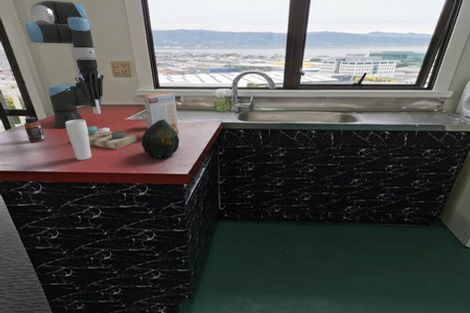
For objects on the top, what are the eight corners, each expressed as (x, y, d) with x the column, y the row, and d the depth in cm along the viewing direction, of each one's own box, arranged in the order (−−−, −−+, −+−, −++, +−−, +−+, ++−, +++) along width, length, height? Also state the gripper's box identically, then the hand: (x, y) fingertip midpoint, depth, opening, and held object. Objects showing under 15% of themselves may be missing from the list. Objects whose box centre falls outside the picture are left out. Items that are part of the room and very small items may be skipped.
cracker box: (172, 132, 134) (169, 92, 126) (179, 134, 130) (175, 93, 122) (148, 137, 125) (142, 95, 117) (154, 140, 121) (148, 96, 113)
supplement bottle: (48, 139, 121) (41, 117, 117) (35, 143, 116) (27, 119, 112) (39, 138, 123) (32, 116, 119) (26, 142, 118) (18, 118, 114)
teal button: (83, 132, 118) (82, 128, 117) (92, 129, 123) (91, 125, 122) (91, 133, 117) (90, 129, 116) (100, 130, 121) (99, 126, 120)
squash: (136, 151, 91) (160, 118, 91) (134, 140, 104) (155, 112, 104) (168, 169, 98) (190, 139, 98) (162, 158, 111) (182, 131, 111)
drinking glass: (79, 155, 102) (70, 119, 97) (96, 154, 103) (88, 119, 97) (71, 161, 96) (60, 123, 90) (89, 161, 96) (80, 123, 91)
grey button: (109, 137, 113) (108, 133, 112) (117, 134, 118) (117, 130, 117) (118, 138, 112) (117, 134, 111) (126, 135, 116) (125, 131, 115)
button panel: (75, 142, 118) (73, 135, 116) (96, 135, 128) (95, 129, 127) (117, 149, 109) (116, 142, 108) (136, 141, 119) (135, 134, 118)
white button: (96, 134, 116) (95, 130, 115) (104, 131, 120) (104, 127, 119) (104, 135, 114) (103, 131, 113) (112, 132, 118) (112, 128, 117)
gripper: (79, 59, 99) (91, 117, 108) (105, 58, 110) (114, 111, 119) (65, 59, 101) (79, 115, 110) (92, 58, 112) (102, 109, 122)
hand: (97, 113), depth 115 cm, fingers closed
